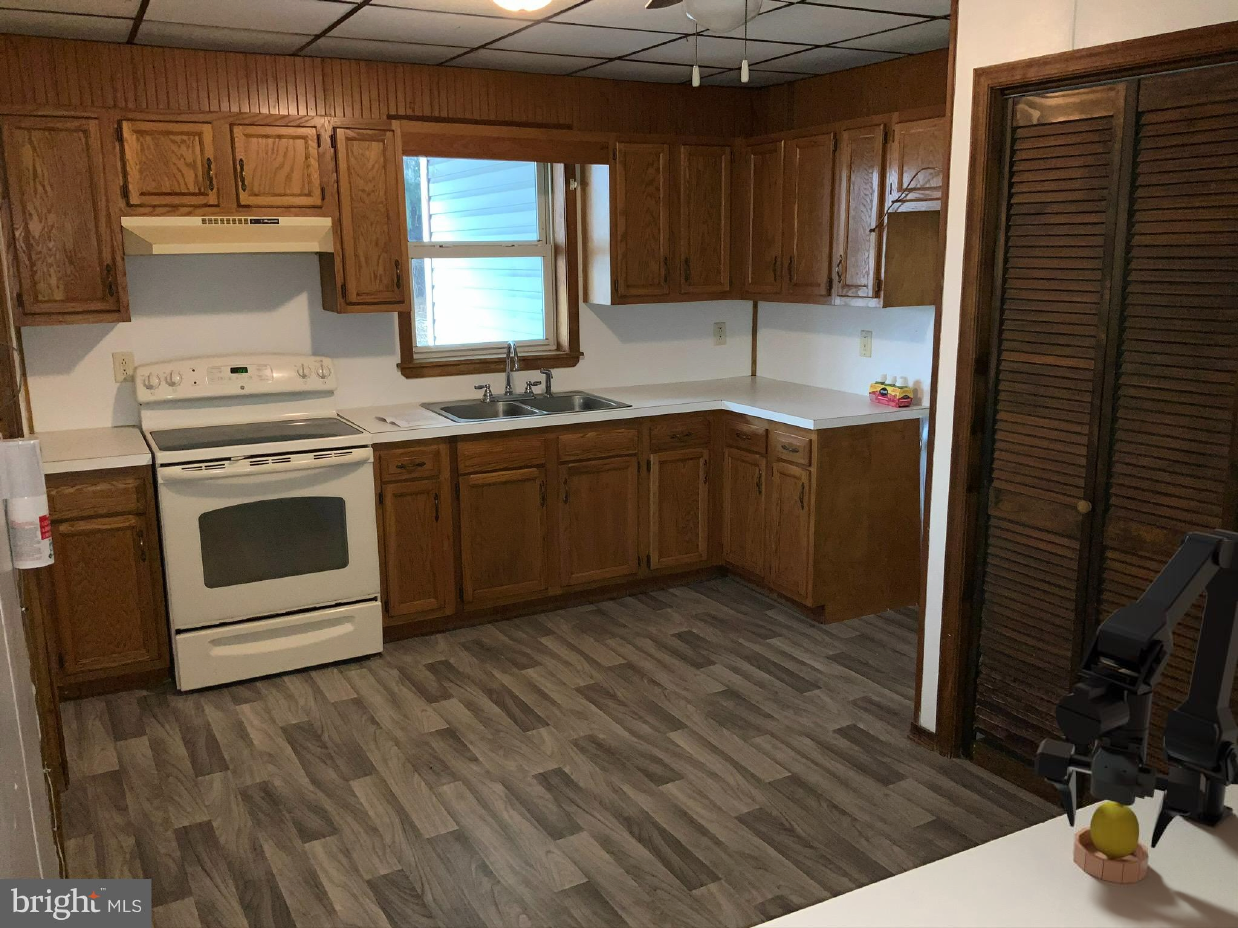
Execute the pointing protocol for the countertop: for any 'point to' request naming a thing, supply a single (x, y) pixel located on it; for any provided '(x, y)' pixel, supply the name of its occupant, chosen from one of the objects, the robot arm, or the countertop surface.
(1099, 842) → the lemon
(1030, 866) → the countertop surface
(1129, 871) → the dish
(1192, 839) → the countertop surface
